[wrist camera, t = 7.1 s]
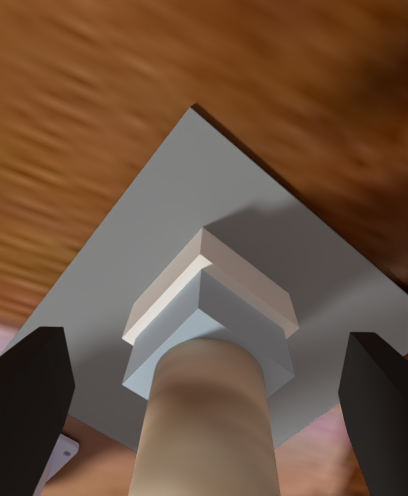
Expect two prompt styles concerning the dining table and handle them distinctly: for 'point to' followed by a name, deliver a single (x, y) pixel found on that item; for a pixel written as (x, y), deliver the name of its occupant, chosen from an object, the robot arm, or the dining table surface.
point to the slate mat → (240, 241)
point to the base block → (223, 270)
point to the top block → (209, 333)
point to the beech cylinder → (206, 425)
